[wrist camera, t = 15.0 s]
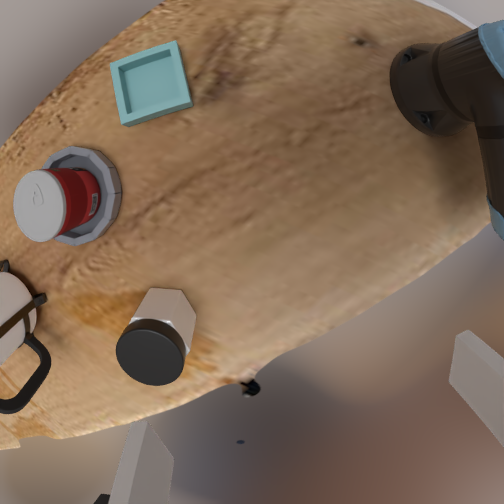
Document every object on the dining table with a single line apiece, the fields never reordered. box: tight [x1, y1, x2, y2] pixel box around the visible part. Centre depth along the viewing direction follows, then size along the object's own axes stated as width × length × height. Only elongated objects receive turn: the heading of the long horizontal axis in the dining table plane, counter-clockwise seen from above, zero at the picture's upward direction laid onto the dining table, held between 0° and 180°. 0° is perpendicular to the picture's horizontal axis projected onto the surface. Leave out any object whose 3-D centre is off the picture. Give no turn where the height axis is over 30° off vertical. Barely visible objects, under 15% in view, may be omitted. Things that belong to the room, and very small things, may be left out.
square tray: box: [110, 41, 193, 127], centre depth 33 cm, size 9×9×3 cm
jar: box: [116, 288, 197, 386], centre depth 37 cm, size 9×8×12 cm
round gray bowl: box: [42, 146, 122, 246], centre depth 36 cm, size 13×13×3 cm
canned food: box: [13, 167, 101, 242], centre depth 32 cm, size 8×8×11 cm
